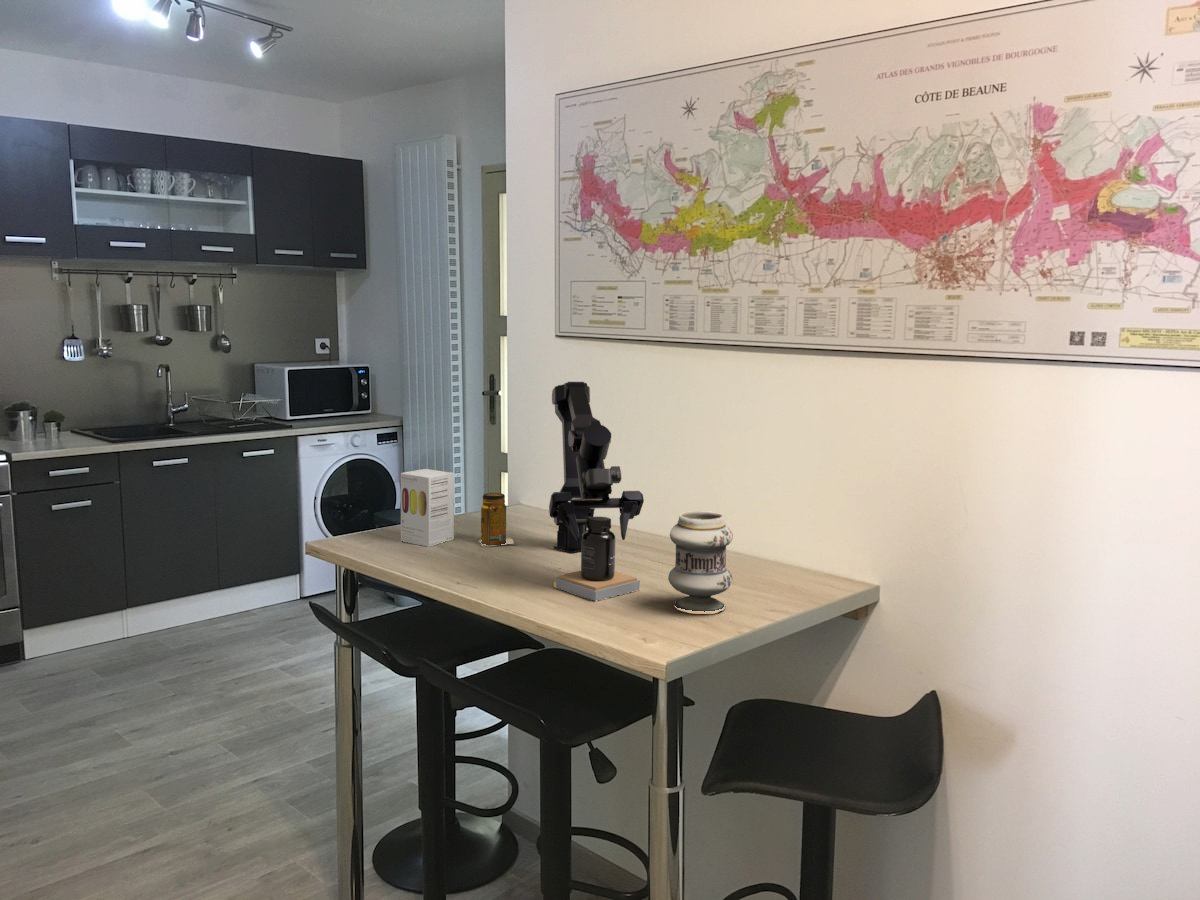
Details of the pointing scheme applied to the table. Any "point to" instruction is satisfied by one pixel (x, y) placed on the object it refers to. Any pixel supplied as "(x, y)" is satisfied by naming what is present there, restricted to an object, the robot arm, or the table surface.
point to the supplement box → (427, 507)
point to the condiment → (493, 519)
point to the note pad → (596, 585)
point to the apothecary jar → (700, 560)
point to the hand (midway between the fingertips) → (601, 539)
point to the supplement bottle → (598, 550)
